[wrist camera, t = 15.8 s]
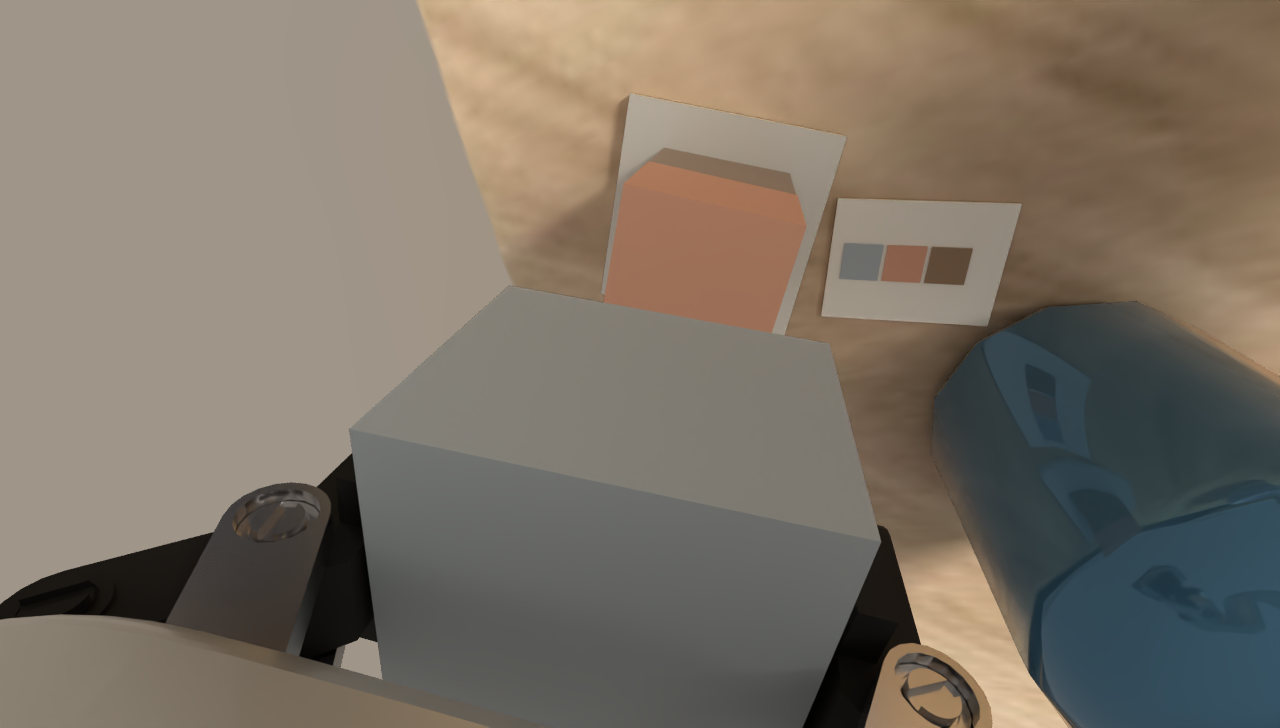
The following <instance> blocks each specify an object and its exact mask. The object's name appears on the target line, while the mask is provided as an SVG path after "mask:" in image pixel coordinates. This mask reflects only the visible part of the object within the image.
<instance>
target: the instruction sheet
mask: <svg viewBox="0 0 1280 728" xmlns="http://www.w3.org/2000/svg"><path fill="white" fill-rule="evenodd" d="M1021 206H1022V204H1021V203H996V202H961V201H926V200H892V199H857V198H838V200H837V207H836V214H835V221H834V228H833V235H832V242H831V249H830V256H829V263H828V270H827V277H826V284H825V291H824V298H823V305H822V311H821V316H822V317H839V318H856V319H872V320H889V321H906V322H923V323H939V324H956V325H973V326H988V323H989V319H990V316H991V312H992V309H993V305H994V302H995V298H996V294H997V291H998V287H999V284H1000V280H1001V277H1002V273H1003V270H1004V266H1005V263H1006V259H1007V256H1008V252H1009V249H1010V245H1011V241H1012V238H1013V234H1014V231H1015V227H1016V224H1017V220H1018V217H1019V213H1020V210H1021Z"/></svg>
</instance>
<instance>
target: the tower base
mask: <svg viewBox="0 0 1280 728" xmlns="http://www.w3.org/2000/svg"><path fill="white" fill-rule="evenodd" d="M846 139H847V136H846V135H841V134H836V133H831V132H826V131H821V130H816V129H811V128H806V127H801V126H796V125H791V124H786V123H781V122H776V121H771V120H765V119H760V118H755V117H750V116H745V115H740V114H735V113H730V112H725V111H720V110H715V109H710V108H705V107H700V106H695V105H690V104H685V103H680V102H675V101H670V100H665V99H660V98H655V97H650V96H645V95H640V94H635V93H631V94H630V96H629V103H628V110H627V117H626V124H625V131H624V138H623V144H622V151H621V158H620V165H619V172H618V179H617V186H616V193H615V199H614V206H613V213H612V220H611V227H610V234H609V241H608V248H607V255H606V261H605V268H604V275H603V282H602V289H601V294H602V295H605V291H606V285H607V279H608V273H609V267H610V261H611V255H612V249H613V243H614V237H615V231H616V226H617V220H618V214H619V208H620V202H621V196H622V190H623V184H624V183H625V182H626V181H627V180H628V179H629V178H630V177H632V176H633V175H634V174H635V173H636V172H637V171H638V170H639V169H641V168H642V167H643V166H644V165H645V164H646V163H647V162H648V161H650V162H655V163H659V164H664V165H668V166H672V167H677V168H681V169H686V170H690V171H694V172H699V173H703V174H708V175H712V176H716V177H721V178H725V179H729V180H734V181H738V182H743V183H747V184H751V185H756V186H760V187H765V188H769V189H773V190H778V191H782V192H787V193H791V194H795V195H798V198H799V202H800V205H801V209H802V212H803V215H804V219H805V222H806V225H807V226H806V230H805V233H804V236H803V239H802V242H801V245H800V248H799V251H798V254H797V257H796V260H795V263H794V266H793V269H792V272H791V275H790V279H789V282H788V285H787V288H786V291H785V294H784V297H783V300H782V303H781V306H780V309H779V312H778V315H777V318H776V321H775V324H774V328H773V331H772V333H774V334H780V335H785V332H786V329H787V325H788V322H789V319H790V316H791V313H792V310H793V306H794V303H795V300H796V297H797V294H798V291H799V287H800V284H801V281H802V278H803V275H804V272H805V268H806V265H807V262H808V259H809V256H810V253H811V250H812V246H813V243H814V240H815V237H816V234H817V231H818V227H819V224H820V221H821V218H822V215H823V212H824V208H825V205H826V202H827V199H828V196H829V193H830V190H831V186H832V183H833V180H834V177H835V174H836V171H837V167H838V164H839V161H840V158H841V155H842V152H843V148H844V145H845V142H846Z"/></svg>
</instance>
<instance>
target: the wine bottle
mask: <svg viewBox="0 0 1280 728" xmlns="http://www.w3.org/2000/svg"><path fill="white" fill-rule="evenodd" d="M931 455H932V458H933V460H934V462H935V465H936V467H937V469H938V471H939V474H940V476H941V478H942V480H943V483H944V485H945V487H946V489H947V492H948V494H949V496H950V498H951V501H952V503H953V505H954V507H955V510H956V512H957V514H958V516H959V519H960V521H961V523H962V526H963V528H964V530H965V532H966V535H967V537H968V539H969V541H970V544H971V546H972V548H973V550H974V553H975V555H976V557H977V559H978V562H979V564H980V566H981V568H982V571H983V573H984V575H985V577H986V580H987V582H988V584H989V587H990V589H991V591H992V593H993V596H994V598H995V600H996V602H997V605H998V607H999V609H1000V611H1001V614H1002V616H1003V618H1004V620H1005V623H1006V625H1007V627H1008V629H1009V632H1010V634H1011V636H1012V638H1013V641H1014V643H1015V645H1016V647H1017V650H1018V652H1019V654H1020V656H1021V658H1022V660H1023V662H1024V664H1025V666H1026V668H1027V670H1028V672H1029V674H1030V676H1031V677H1032V678H1033V680H1034V681H1035V682H1036V684H1037V685H1038V687H1039V688H1040V689H1041V691H1042V692H1043V693H1044V695H1045V696H1046V698H1047V699H1048V700H1049V702H1050V703H1051V704H1052V706H1053V707H1054V708H1055V710H1056V711H1057V713H1058V714H1059V715H1060V717H1061V718H1062V719H1063V721H1064V722H1065V724H1066V725H1067V726H1068V728H1280V376H1278V375H1276V374H1275V373H1273V372H1271V371H1270V370H1268V369H1266V368H1265V367H1263V366H1261V365H1260V364H1258V363H1256V362H1255V361H1253V360H1251V359H1250V358H1248V357H1246V356H1245V355H1243V354H1241V353H1240V352H1238V351H1236V350H1235V349H1233V348H1231V347H1230V346H1228V345H1226V344H1225V343H1223V342H1221V341H1220V340H1218V339H1216V338H1215V337H1213V336H1211V335H1210V334H1208V333H1206V332H1205V331H1202V330H1200V329H1198V328H1196V327H1193V326H1191V325H1189V324H1187V323H1184V322H1182V321H1180V320H1178V319H1175V318H1173V317H1171V316H1169V315H1166V314H1164V313H1162V312H1160V311H1157V310H1155V309H1153V308H1151V307H1148V306H1146V305H1144V304H1142V303H1139V302H1137V301H1130V302H1114V303H1099V304H1085V305H1070V306H1055V307H1043V308H1041V309H1039V310H1037V311H1035V312H1034V313H1032V314H1030V315H1028V316H1026V317H1024V318H1022V319H1020V320H1018V321H1016V322H1014V323H1012V324H1010V325H1008V326H1006V327H1004V328H1002V329H1000V330H998V331H996V332H994V333H992V334H990V335H988V336H987V337H985V338H983V339H981V340H979V341H977V342H976V343H975V344H974V346H973V347H972V348H971V349H970V351H969V352H968V353H967V355H966V356H965V357H964V359H963V360H962V361H961V362H960V364H959V365H958V366H957V368H956V369H955V370H954V371H953V373H952V374H951V375H950V377H949V378H948V379H947V381H946V382H945V383H944V384H943V386H942V387H941V388H940V390H939V391H938V393H937V395H936V397H935V404H934V418H933V431H932V445H931Z"/></svg>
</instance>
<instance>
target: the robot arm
mask: <svg viewBox="0 0 1280 728" xmlns="http://www.w3.org/2000/svg"><path fill="white" fill-rule="evenodd" d="M877 528H878V531H879V535H880V539H881V544H880V546H879V548H878V551H877V553H876V555H875V558H874V560H873V563H872V565H871V567H870V570H869V572H868V574H867V577H866V579H865V581H864V584H863V586H862V588H861V591H860V593H859V596H858V598H857V600H856V603H855V605H854V607H853V610H852V612H851V614H850V617H849V619H848V621H847V624H846V626H845V629H844V631H843V633H842V636H841V638H840V640H839V643H838V645H837V647H836V650H835V652H834V654H833V657H832V659H831V661H830V664H829V666H828V669H827V671H826V673H825V676H824V678H823V680H822V683H821V685H820V687H819V690H818V692H817V694H816V697H815V699H814V702H813V704H812V706H811V709H810V711H809V713H808V716H807V718H806V720H805V723H804V725H803V727H802V728H992V715H991V707H990V705H989V703H988V701H987V698H986V696H985V694H984V692H983V690H982V689H981V688H980V686H979V685H978V683H977V682H976V681H975V679H974V678H973V677H972V676H971V675H970V674H969V673H968V672H967V671H966V670H965V669H964V668H963V667H962V666H961V665H960V664H959V663H957V662H956V661H954V660H953V659H951V658H950V657H948V656H947V655H945V654H944V653H942V652H940V651H938V650H935V649H933V648H931V647H928V646H925V645H921V643H920V640H919V636H918V633H917V629H916V625H915V622H914V618H913V615H912V611H911V608H910V604H909V601H908V597H907V594H906V590H905V587H904V583H903V579H902V576H901V572H900V569H899V565H898V562H897V558H896V555H895V551H894V548H893V544H892V541H891V537H890V534H889V532H888V530H887V529H886V528H885V527H883V526H879V525H877ZM359 637H361V638H364V639H368V640H372V641H375V642H378V641H377V634H376V626H375V619H374V611H373V604H372V596H371V589H370V581H369V574H368V566H367V559H366V551H365V544H364V536H363V529H362V521H361V514H360V506H359V499H358V491H357V484H356V476H355V469H354V462H353V454H351V455H350V456H348V458H347V459H346V460H344V461H343V462H342V463H341V464H340V465H339V466H338V467H337V468H336V469H335V470H334V471H333V472H332V473H331V474H330V475H329V476H328V477H327V478H326V479H325V480H324V481H323V482H322V483H321V484H320V485H318V486H317V487H314V486H311V485H308V484H303V483H281V484H274V485H270V486H266V487H263V488H260V489H257V490H255V491H253V492H251V493H249V494H246V495H244V496H243V497H241V498H240V499H239V500H237V501H236V502H234V503H233V504H232V505H231V506H230V507H229V508H228V510H227V511H226V512H225V513H224V515H223V516H222V518H221V520H220V522H219V524H218V525H217V527H216V529H215V531H214V532H213V533H208V534H205V535H201V536H197V537H193V538H189V539H185V540H181V541H178V542H174V543H170V544H166V545H162V546H158V547H154V548H151V549H147V550H143V551H139V552H135V553H131V554H127V555H124V556H120V557H116V558H112V559H108V560H105V561H100V562H97V563H93V564H89V565H85V566H81V567H78V568H74V569H70V570H66V571H63V572H60V573H57V574H54V575H51V576H48V577H45V578H42V579H40V580H38V581H36V582H34V583H32V584H30V585H28V586H26V587H24V588H22V589H21V590H19V591H18V592H16V593H15V594H14V595H12V596H11V597H9V598H8V599H7V600H5V601H4V602H3V603H1V604H0V728H552V727H549V726H545V725H542V724H538V723H534V722H531V721H527V720H524V719H520V718H517V717H513V716H510V715H506V714H503V713H499V712H496V711H492V710H489V709H485V708H482V707H478V706H475V705H471V704H468V703H464V702H461V701H457V700H454V699H450V698H446V697H443V696H439V695H436V694H432V693H429V692H425V691H421V690H418V689H414V688H411V687H407V686H403V685H400V684H396V683H393V682H389V681H385V680H381V679H378V678H375V677H371V676H368V675H364V674H360V673H357V672H353V671H350V670H346V669H342V668H340V667H341V663H342V659H343V654H344V650H345V645H346V644H349V643H352V642H354V641H357V640H358V639H359Z"/></svg>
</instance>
